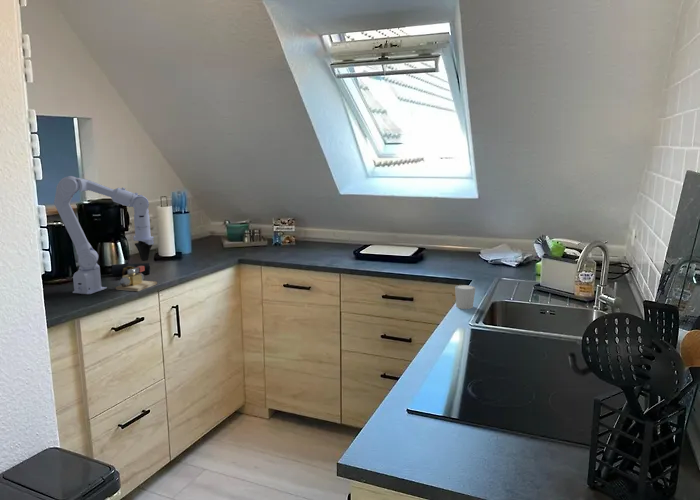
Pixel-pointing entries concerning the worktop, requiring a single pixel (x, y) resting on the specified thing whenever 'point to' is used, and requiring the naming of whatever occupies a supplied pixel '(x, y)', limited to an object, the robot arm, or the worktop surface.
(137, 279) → the valve body
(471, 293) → the light grey cylinder
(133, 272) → the lever
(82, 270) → the robot arm
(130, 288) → the board
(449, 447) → the worktop surface
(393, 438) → the worktop surface
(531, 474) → the worktop surface
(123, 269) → the pipe connector
